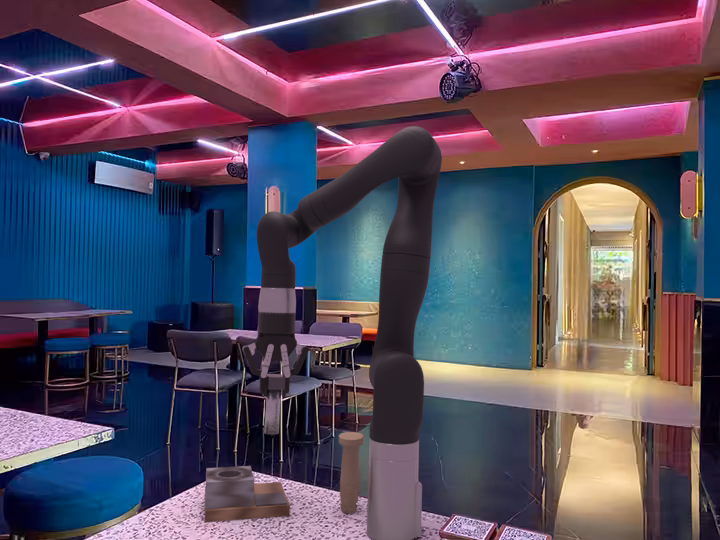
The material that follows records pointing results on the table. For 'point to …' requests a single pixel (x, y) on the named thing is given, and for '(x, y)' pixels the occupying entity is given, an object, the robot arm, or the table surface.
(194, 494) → the table surface
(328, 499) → the table surface
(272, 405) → the hammer
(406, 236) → the robot arm
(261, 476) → the table surface
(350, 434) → the handle
